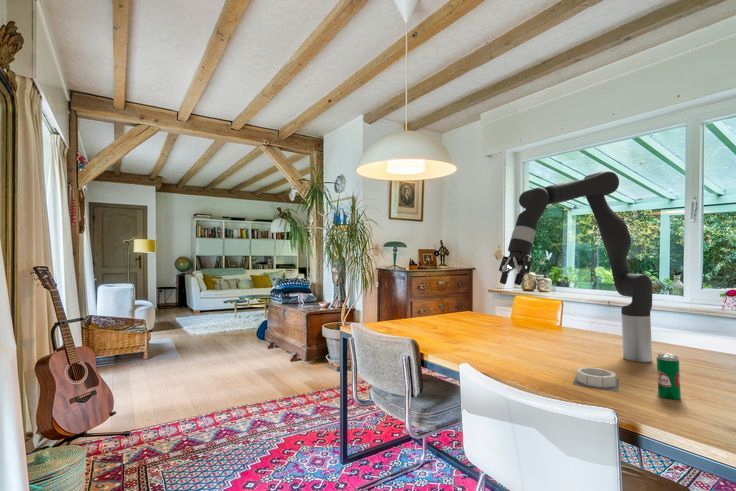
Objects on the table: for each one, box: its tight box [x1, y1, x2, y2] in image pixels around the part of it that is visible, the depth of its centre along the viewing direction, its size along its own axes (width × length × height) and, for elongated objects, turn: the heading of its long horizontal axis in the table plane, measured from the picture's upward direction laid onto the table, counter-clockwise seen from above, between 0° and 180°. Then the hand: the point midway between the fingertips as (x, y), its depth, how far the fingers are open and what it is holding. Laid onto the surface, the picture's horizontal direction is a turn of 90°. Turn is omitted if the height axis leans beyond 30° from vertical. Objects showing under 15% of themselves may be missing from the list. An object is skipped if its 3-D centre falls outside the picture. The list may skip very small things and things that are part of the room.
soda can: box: [655, 353, 682, 401], centre depth 107 cm, size 5×5×12 cm
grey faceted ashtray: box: [576, 366, 617, 388], centre depth 120 cm, size 10×10×3 cm
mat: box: [572, 374, 620, 393], centre depth 120 cm, size 14×12×1 cm
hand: (509, 284), depth 133 cm, fingers open, 8 cm apart
